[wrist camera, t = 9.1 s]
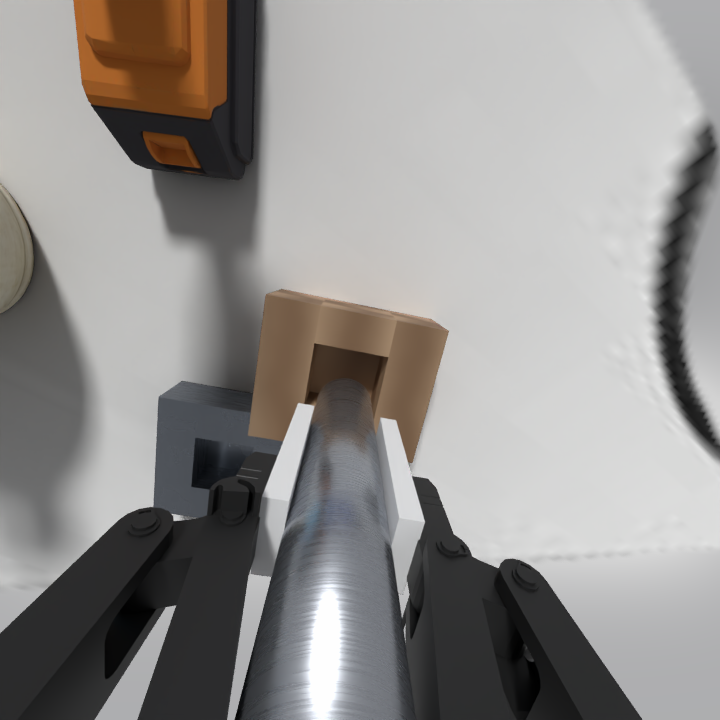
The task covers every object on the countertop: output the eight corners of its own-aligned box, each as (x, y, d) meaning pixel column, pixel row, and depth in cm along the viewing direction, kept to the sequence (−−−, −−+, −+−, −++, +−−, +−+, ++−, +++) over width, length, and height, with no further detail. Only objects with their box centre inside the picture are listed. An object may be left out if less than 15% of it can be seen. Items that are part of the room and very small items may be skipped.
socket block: (175, 483, 30) (153, 510, 27) (182, 380, 28) (158, 397, 24) (285, 500, 31) (277, 529, 28) (302, 402, 28) (295, 420, 25)
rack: (265, 406, 29) (247, 435, 24) (281, 289, 26) (265, 294, 21) (402, 430, 29) (412, 462, 25) (431, 319, 27) (448, 331, 22)
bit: (312, 423, 20) (188, 931, 5) (322, 373, 19) (205, 793, 4) (365, 432, 20) (405, 943, 5) (376, 383, 20) (466, 818, 4)
